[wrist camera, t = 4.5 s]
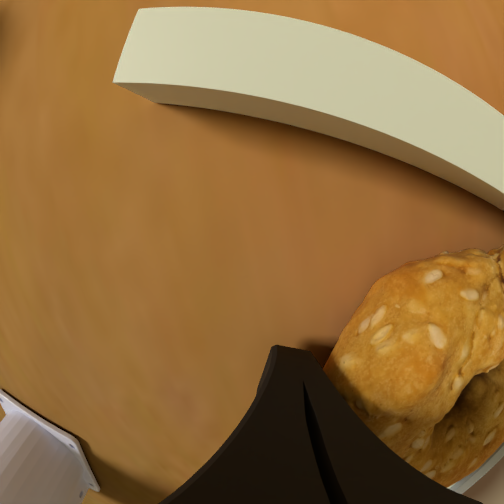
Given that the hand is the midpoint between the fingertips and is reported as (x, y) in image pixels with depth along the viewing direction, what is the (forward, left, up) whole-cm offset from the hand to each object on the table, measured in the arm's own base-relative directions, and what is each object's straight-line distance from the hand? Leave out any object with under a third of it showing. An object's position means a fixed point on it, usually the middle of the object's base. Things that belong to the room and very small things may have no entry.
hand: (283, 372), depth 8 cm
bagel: (+1, -6, -1) cm, 6 cm away
